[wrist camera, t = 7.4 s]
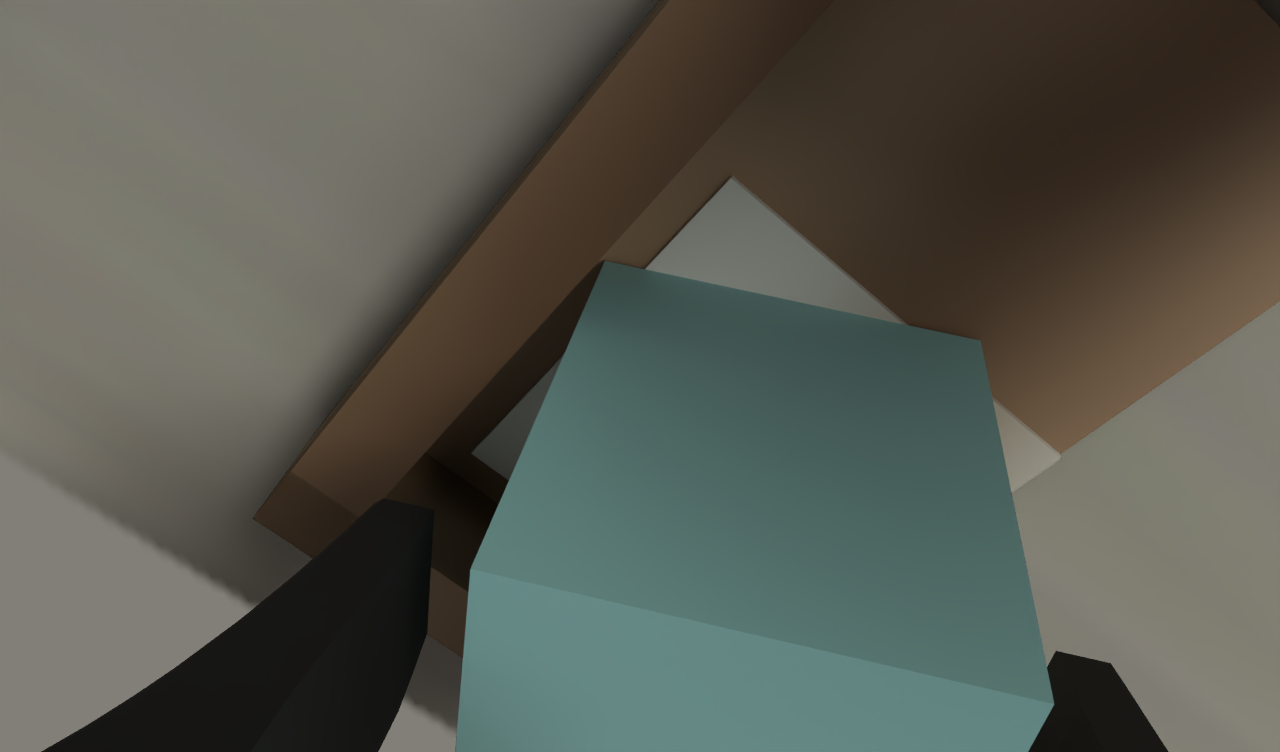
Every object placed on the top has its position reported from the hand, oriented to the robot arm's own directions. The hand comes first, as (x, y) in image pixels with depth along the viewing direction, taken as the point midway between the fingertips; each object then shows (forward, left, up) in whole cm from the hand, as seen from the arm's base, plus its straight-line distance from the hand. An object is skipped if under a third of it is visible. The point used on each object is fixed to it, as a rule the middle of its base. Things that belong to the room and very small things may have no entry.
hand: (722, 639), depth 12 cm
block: (0, 0, -4) cm, 4 cm away
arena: (-1, +2, -4) cm, 5 cm away
